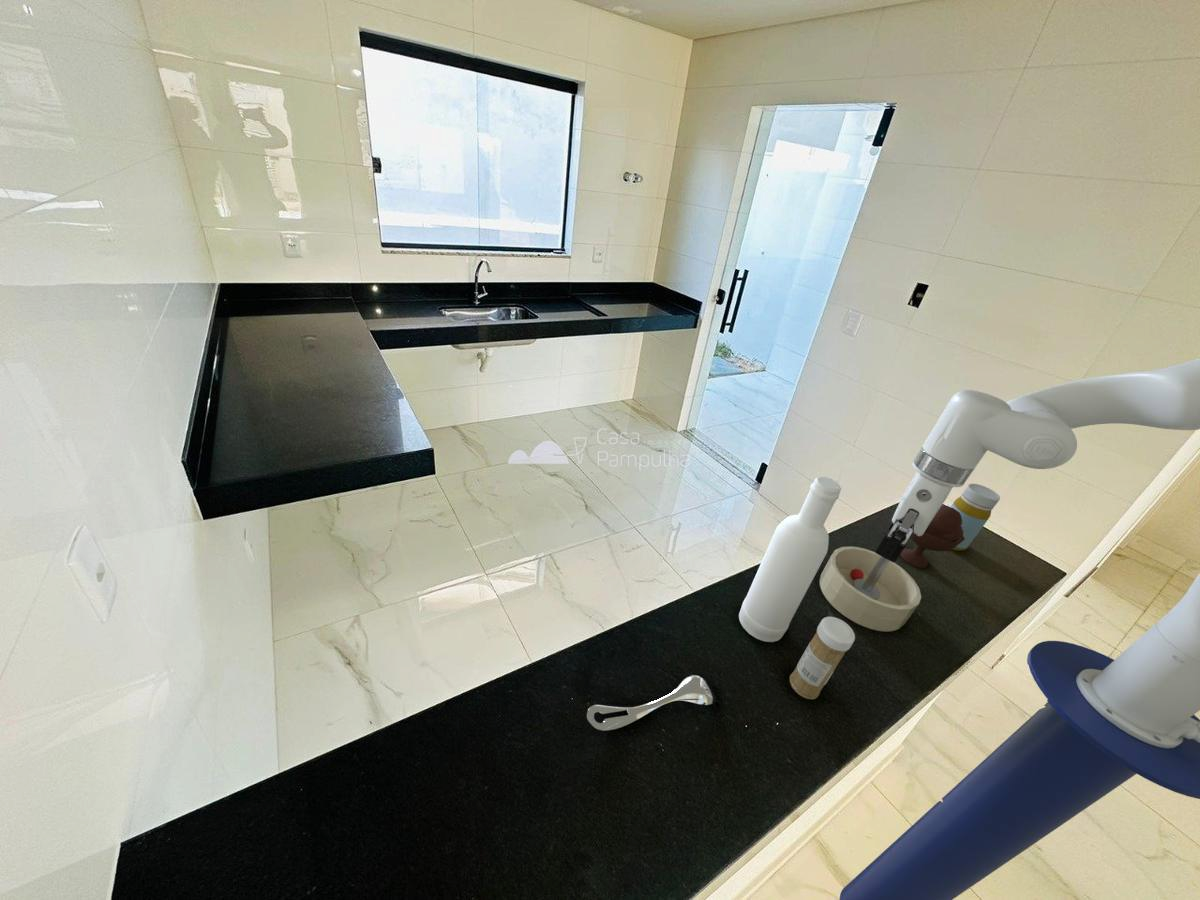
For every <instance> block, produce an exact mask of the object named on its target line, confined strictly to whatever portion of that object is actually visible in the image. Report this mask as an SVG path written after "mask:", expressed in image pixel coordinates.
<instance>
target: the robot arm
mask: <svg viewBox="0 0 1200 900" xmlns="http://www.w3.org/2000/svg"><path fill="white" fill-rule="evenodd" d="M1109 424H1113V425H1114V424H1115V425H1117V424H1121V425H1136V426H1143V427H1150V428H1155V429H1163V430H1174V431H1198V430H1200V358H1196V359H1192V360H1188V361H1184V362H1181V363H1177V364H1174V365H1173V364H1172V365H1170V366H1165V367H1162V368H1158V369H1149V370H1138V371H1130V372H1125V373H1124V372H1123V373H1118V374H1117V373H1116V374H1110V375H1101V376H1095V377H1088V378H1082V379H1077V380H1072V381H1068V382H1063V383H1059V384H1056V385H1052V386H1048V387H1045V388H1042V389H1039V390H1036V391H1032V392H1028V393H1026V394H1022V395H1019V396H1017V397H1014V398H1012V399H1010V400H1008V401H1005V400H1003V399H1001V398H999V397H997V396H994V395H992V394H989V393H986V392H982V391H978V390H972V389H963V390H959V391H957V392H956V393H954V394H953V396H952V397H951V398H950V400H949V401H948V403H947V405H946V406H945V408H944V410H943V411H942V413H941V415H940V416H939V418H938V419H937V421H936V423H935V425H934V426H933V428H932V429H931V431H930V432H929V434H928V436H927V438H926V439H925V441H924V443H923V444H922V446H921V448H920V449H919V451H918V453H917V454H916V456H915V458H914V459H913V461H912V463H911V466H912V468H913V469H914V470H915V474H914V475H913V477H912V479H911V481H910V483H909V484H908V486H907V488H906V490H905V491H904V493H903V495H902V496H901V499H900V501H899V503H898V505H897V507H896V509H895V511H894V513H893V515H892V519H891V522H892V523H891V524H890V526H889V528H888V531H889V532H888V534H887V533H886V534H885V535H884V537H883V539H882V540H881V542H880V544H878V546H877V548H876V550H875V552H876V554H878V555H880V556H882V557H884V558H886V559H887V560H889V561H891V562H894V563H896V561H897V560H898V558H899V557H900V556H901V555H900V554H901V552H902V551H903V549H906V546H907V544H906V543H907V542H908V540H909V539H910V535H911V534H912V532H913V531H914V533H915V534H917V536H922V535H923V533H924V532H925V530H926V529H927V527H928V526H929V524H930V522H931V521H932V519H933V518H934V516H935V515H936V513H937V512H938V510H939V509H940V507H941V506H943V504H944V503H945V501H946V500H947V498H948V496H949V495H950V493H951V491H952V490H953V488H961V487H963V486H964V485H965V483H966V482H967V480H968V479H969V478H970V476H971V475H972V474H973V472H974V471H975V469H976V467H977V466H978V464H979V463H980V462H981V460H982V459H983V457H984V456H985V455H986V453H987V452H991V453H993V454H995V455H997V456H1000V457H1001V458H1004V459H1005V460H1008V461H1009V462H1012V463H1014V464H1016V465H1019V466H1022V467H1025V468H1030V469H1033V470H1034V469H1035V470H1036V469H1037V470H1049V469H1054V468H1057V467H1060V466H1062V465H1065V464H1067V463H1068V462H1069V461H1070V460H1071V459H1072V458H1073V457H1074V456H1075V454H1076V452H1077V450H1078V449H1077V448H1078V440H1077V437H1076V434H1075V432H1074V431H1073V429H1077V428H1081V427H1082V428H1083V427H1089V426H1096V425H1097V426H1098V425H1109ZM1076 682H1077V685H1078V688H1079V690H1080V691H1081V693H1082V695H1083V696H1084V697H1085V699H1086V700H1087V701H1088V702H1089V703H1090V704H1091V706H1092V707H1093V708H1094V709H1096V710H1097V711H1098V712H1099V713H1100V714H1101V715H1102V716H1103V717H1105V718H1106V719H1107V720H1108V721H1110V722H1111V723H1112V724H1114V725H1115V726H1117V727H1118V728H1119V729H1121V730H1123V731H1124V732H1126V733H1128V734H1129V735H1131V736H1133V737H1135V738H1137V739H1139V740H1141V741H1143V742H1146V743H1148V744H1151V745H1154V746H1157V747H1162V748H1174V747H1176V746H1178V745H1179V744H1180V743H1182V742H1183V737H1185V738H1186V739H1193V740H1195V741H1197V742H1199V743H1200V722H1199V721H1196V720H1194V719H1193V718H1191V716H1193V715H1196V714H1197V713H1199V712H1200V572H1199V573H1198V574H1197V576H1196V577H1195V579H1194V580H1193V582H1192V583H1191V585H1190V586H1189V588H1188V590H1187V591H1186V593H1185V594H1184V595H1183V596H1182V598H1180V600H1179V601H1178V602H1177V603H1176V604H1175V606H1173V607H1172V608H1171V609H1169V611H1168V612H1167V613H1166V614H1165V615H1164V616H1162V617H1161V618H1160V619H1159V620H1158V621H1157V622H1155V624H1153V626H1151V627H1150V628H1149V629H1148V630H1147V631H1145V632H1144V633H1143V634H1141V636H1140V637H1139V638H1137V640H1136V641H1134V642H1133V643H1132V644H1131V645H1130V646H1129V647H1128V648H1126V649H1125V650H1124V651H1123V652H1121V654H1120V655H1119V656H1117V657H1116V658H1115V659H1114V661H1113V662H1112V663H1111V664H1109V665H1108V666H1107V667H1106V668H1105V669H1104V670H1103V671H1101V670H1096V669H1085V670H1083V671H1081V672H1080V673H1079V674H1078V676H1077V677H1076Z"/></svg>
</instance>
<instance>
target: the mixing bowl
mask: <svg viewBox="0 0 1200 900" xmlns="http://www.w3.org/2000/svg"><path fill="white" fill-rule="evenodd" d="M879 558H880V555H878V554H876V551H872V550H871V549H867V548H864V547H859V546H841V547H839V548H836V549H835V550H834V551H833V552H832V553H831V555H830V557H829V559H828V561H827V563H826V565H825V566H824V567H823V570H822V572H821V574H820V577H819V587H820V590H821V592H822V594H823V596H824V597H825V599H826V600H827V602H828V603H829V604H830V605H831V606H832V608H834V609H835V610H836V611H837V612H839V613H840V614H841V615H842V616H844V617H846V619H849V620H850V621H852V622H853V623H855V624H857V625H859V626H862V627H863V628H864V627H865V628H867V629H870V630H874V631H877V632H895V631H897V630H899V629H901V628H902V627H903V626H904V625H905V624H906V623H907V621H909V619H910V617H911V616H912V614H913V613H914V612H915V610H916V609H917V608H918V607H919V605H920V603H921V600H922V594H921V590H920V587H919V585H918V584H917V582H916V581H915V579H914V578H913V577H912V576H911V575H910V574H909V573H908V572H907V571H906V570H905V569H904V568H903V567H902V566H900V565H898V564H897V563H896V562H891V561H890V562H889V563H888V565H887V566H886V568H885V570H884V571H883V573H882V574H881V576H880V578H879V579H878V581H877V582H876V584H875V586H876V587H877V588H878V589H879V591H880V597H879V598H878V600H874V599H872V598H870V597H868V596H867V595H865V594H863V593H861V592H860V591H858V590H857V589H856V588H854V587H853V586H852V584H853V582H854V580H853V579H852V578H851V576H850V572H851V571H852V570H853V569H860V570H861V571H862V572H863V574H864V578H863V579H864V580H866V579H867V578H868V576H869V574H870V573H871V571H872V569H873V568H874V566H875V565H876V563H877V561H878V560H879Z"/></svg>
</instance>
